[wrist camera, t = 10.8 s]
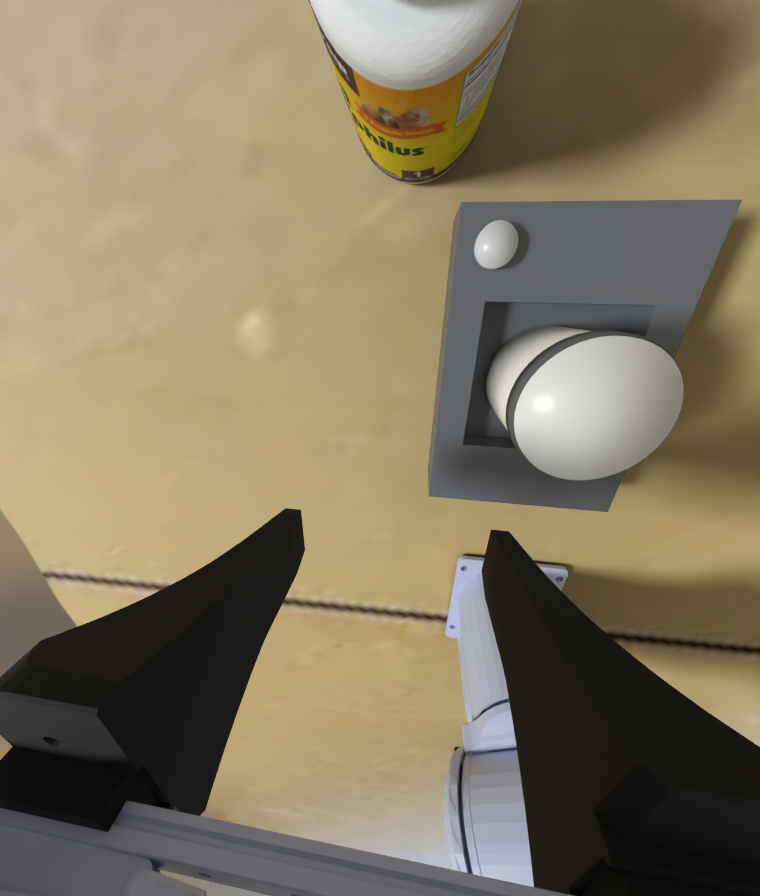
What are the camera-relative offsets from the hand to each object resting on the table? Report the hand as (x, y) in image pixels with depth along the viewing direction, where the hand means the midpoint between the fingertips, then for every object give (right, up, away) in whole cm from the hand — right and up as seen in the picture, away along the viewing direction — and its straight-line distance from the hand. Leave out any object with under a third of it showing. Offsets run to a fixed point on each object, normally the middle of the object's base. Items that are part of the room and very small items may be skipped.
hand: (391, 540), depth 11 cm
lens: (+8, +7, +4) cm, 11 cm away
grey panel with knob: (+8, +8, +6) cm, 13 cm away
